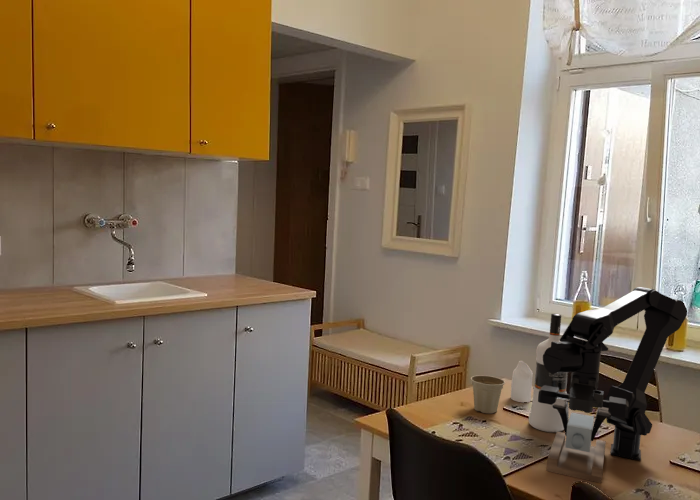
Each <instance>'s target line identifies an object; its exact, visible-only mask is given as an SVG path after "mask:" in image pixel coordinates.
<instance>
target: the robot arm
mask: <svg viewBox="0 0 700 500" xmlns="http://www.w3.org/2000/svg"><path fill="white" fill-rule="evenodd" d="M687 308H688V307H686V304H685V303H684V301H683V300H680V299H675V298H671V297H669V296H667V295H665V294H662V293H661V292H659V291H658V290H656V289H653V288H649V287H642V286H638V287H635V288H634V289H633V290H632V291H630V292H629V293H627V294H625V295H624V296H622V297H620V298H618V299H616V300H615V301H613V302H610V303H609V304H607V305H605V306H602V307H601V308H597V309H590V310H589V309H588V310H585V311H582V312H578V313H576V314H574V315H573V317H572V318H571V321H570V322H569V324H568V326H567V327H566V329H565V331H564V332H563V333H562V335H561V337H560V341H561V342H556V341H553V342H551V347H549V348H547V349H546V351H545V353H544V354H543V364H544V366H545V368H546V370H547V371H548V372H550V373H553V374H556V373H567V372H568V373H570V385H569V387H568V393H561V392H559V388H558V387H552V386H546V385H544V386H542V387H541V389H540V390H539V394H538V402H540V403H545V404H550V405H552V404H553V408H554V409H557V410H558V412H559V414H560V416H561V419H562V423H563V427H564V430H563V431H564V433H565V436H566V434H567V425H568V421H569V418H570V416H569V410H571V411H578V412H579V411H580V412H584V413H587V414H590V413H592V412H593V409H595V408H596V414H595V417H594V422H593V430H592V436H591V442H593V441H594V440H595V437H596V436H597V434H598V431H599V429H600V427H601V425H602V424H603V423H604V421H605V420H606V423H607V424H610V425H612V426H614V431H613V432H614V433H613V441H612V443H611V444H610V453H609V454H610V455H612V456H616V457H622V458H625V459H631V460H636V461H642V454H641V453H642V449H640V447H641V446H640V445H641V436H648V435H647V434H650V433H651V431H652V428H653V423H652V422H651V420H650V419H649V418H648V416H647V415H646V411H647V408H648V403H647V398H646V393H645V392H646V390H647V388H648V385H649V382H650V380H651V378H652V377H653V373H654V371H655V368H656V366H657V364H658V361H659V359H660V357H661V354H662V352H663V349H664V347H665V345H666V343H667V341H668V338H669V337H670V336H672V335H673V334H674V333H675V332H677V331H679V330H680V328H681V327H682V325H683V324H684V321H685V320H686V318H687V316H688V309H687ZM643 311H644V313H643V314H644V315H643V318H644V324H645V330H644V333H643V335H642V337H641V339H640V341H639V344H638V347H637V349H636V351H635V354H634V356H633V359H632V361H631V363H630V365H629V368H628V370H627V372H626V374H625V376H624V380H623V382H622V383H621V384H619V385H618V386H614V385H611V386H610V388H609V390H608V394H607V395H606V397H605V398H604V394H605V392H604V391H603V390H598V388H599V379H600V378H599V376H600V368H601V367H600V366H601V354H602V352H608V351H609V347H608V346H607V345H606V344H605V343H604V341H605V340H606V339H608V338H609V337H610V336H612V335H613V333H614V329H615V327H616V326H618V325H620V324H621V323H623V322H625V321H626V320H628V319H631V318H632V317H634V316H635V315H637V314H639V313H641V312H643Z"/></svg>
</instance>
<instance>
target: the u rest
mask: <svg viewBox="0 0 700 500" xmlns="http://www.w3.org/2000/svg"><path fill="white" fill-rule="evenodd" d="M555 433H556V434H555V436H554V438H553V442H552V444H551V447H550V450H549V453H548V456H547V462H546V463H547V464H546V471H547V472H550V473H554V474H555V473H556V474H559V475H565V476H569V477H572V478H577V479H582V480H586V481H591V482H595V483H599V484H602V480H603V470H604V469H603V468H604V461H605V452H606V440H600V439H596V441H595V442H596V443H595V446H593V445H591V447H590V452H585V451H581V450H576V449H571V448H566V447H565V446H566V435H565V432H563V431H560V432H555Z"/></svg>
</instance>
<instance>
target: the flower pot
mask: <svg viewBox="0 0 700 500" xmlns="http://www.w3.org/2000/svg"><path fill="white" fill-rule="evenodd" d="M470 381H471V385H472V389H473V390H472V391H473V392H472V393H473V405H474V406H473V407H474V410H475V411H476V412H481V413H483V414H494V413H497V412H498V408H499V403H500V398H501V392H502V390H503V389H504V386H505V384H506V381H505V380H504V379H502V378H499V377H497V376H492V375H481V374H480V375H479V374H478V375H473V376H471V377H470Z"/></svg>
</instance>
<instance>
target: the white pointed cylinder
mask: <svg viewBox="0 0 700 500" xmlns="http://www.w3.org/2000/svg"><path fill="white" fill-rule="evenodd" d="M533 375H534V374H533V370H531V368H530V366H529V365H528V364H527V363H526V362H525V361H523V360H519V361H517V365H516V367H515V368H514V369H513V371H512V377H511V385H510V386H511V387H510V388H511V389H510V399H511V400H513V401H515V402H519V403H524V402H527V403H531V400H532V398H531V397H532V390H533Z"/></svg>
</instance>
